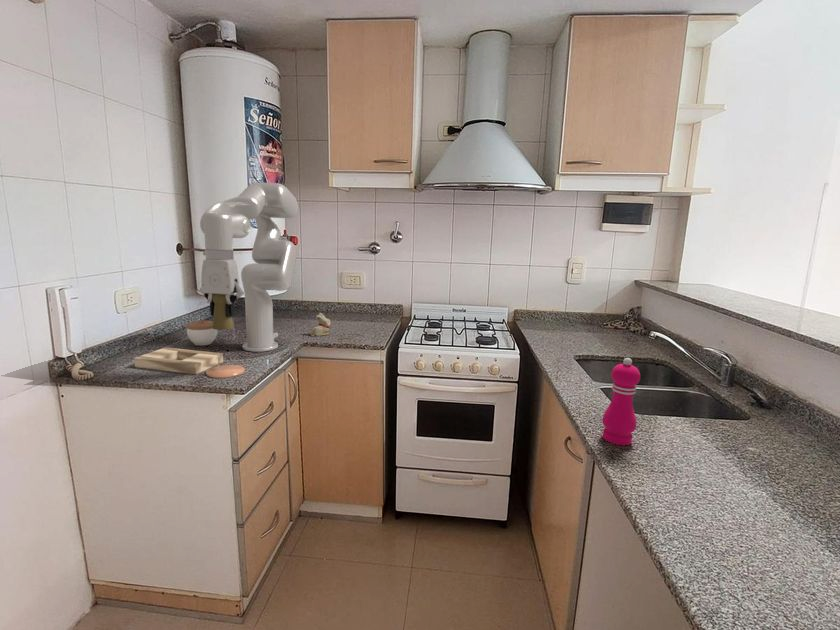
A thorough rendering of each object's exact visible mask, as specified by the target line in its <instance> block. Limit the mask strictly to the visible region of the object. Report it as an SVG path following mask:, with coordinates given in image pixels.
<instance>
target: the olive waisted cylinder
mask: <svg viewBox="0 0 840 630" xmlns="http://www.w3.org/2000/svg"><path fill="white" fill-rule="evenodd" d="M212 300H213V302H214V303H215V305H214V316H212V317H213V318H212V321H213V327H212V329H215V330H217V331H219V330H220V331H225V330H231V329H233V328H235V327H234V326H235V325H234V322H233V321H234V320H233V316H231V317H226V304H227V300H226V296H225V295H222V294H213V296H212Z"/></svg>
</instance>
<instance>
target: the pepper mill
mask: <svg viewBox="0 0 840 630" xmlns="http://www.w3.org/2000/svg"><path fill="white" fill-rule="evenodd" d="M632 363H633V360H632V358H630V357H624V359H623V362H622V363H619V364H617V365H615V366H614V367H613V368H612V370H611V373H610V374H611V375H610V377H611V379H612V380H613V382H612V386H611V389H612V391H613V393H612V398H611V401H610V403H609V405H608V406H607V408H606V409H605V411H604V413H603V416H602V419H601V422H602V424H603V426H604V427H605V428H603V430H602V439H603V440H604V441H606V442H607V441H608V442H607V443H609V442H610V443H609V444H612V443H613V444H612V445H615V444H616V445H615V446H620V445H622V446H621V447H623V446H625V445H627V446H630V445H631V444H632V441H633V434H632V433H634V432H635V430H636V429H637V417H636V413H635V410H634V408H633V407H634V406H633V399H634V394H636V390H637V384H639V382H640V381H641V373H640V370H639V369H638V367H636V366H634V365H633V364H632Z"/></svg>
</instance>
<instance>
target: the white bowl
mask: <svg viewBox="0 0 840 630" xmlns="http://www.w3.org/2000/svg"><path fill="white" fill-rule="evenodd" d="M185 327H186V333H187V337H188V339H189V341H190V342H191V343H193V344H194V346H208V345H211V344H213V342H214V341H215V340H216V338H217V336H218V330H215V329H212V327H213V320H204V319H203V318H201V319H199V321H192V322H189V323H186V324H185Z"/></svg>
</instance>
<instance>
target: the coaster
mask: <svg viewBox="0 0 840 630" xmlns="http://www.w3.org/2000/svg"><path fill="white" fill-rule="evenodd" d="M205 371H206V373H205V374H206V376H207V377H210V378H214V379H227V378H233V377H238V376H240V375H242V374H243V373H245V372H246V371H245V367H244V366H242V365H240V364H239V365H238V364H223V365H215V366H213V367H211V368H209V369H207V370H205Z"/></svg>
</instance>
